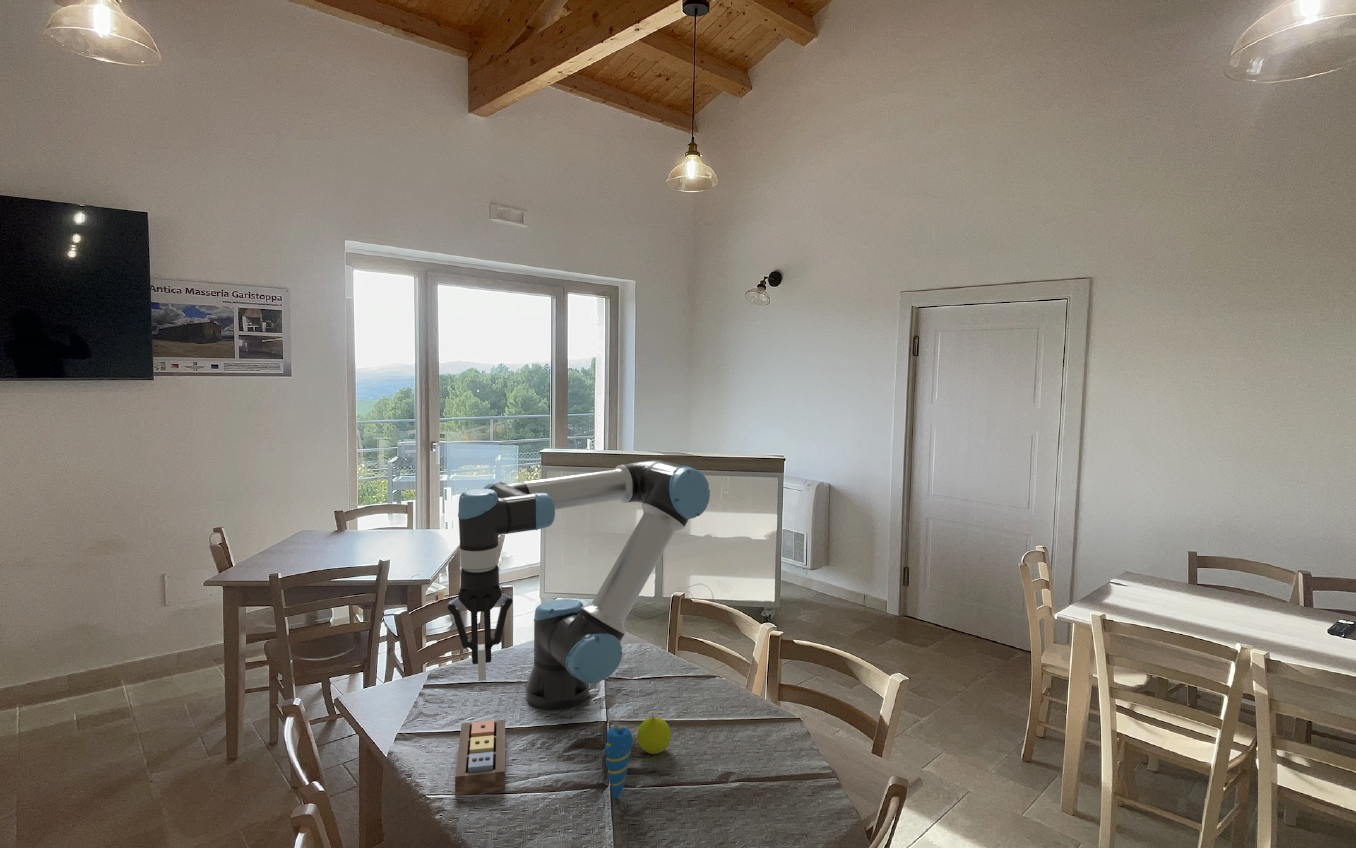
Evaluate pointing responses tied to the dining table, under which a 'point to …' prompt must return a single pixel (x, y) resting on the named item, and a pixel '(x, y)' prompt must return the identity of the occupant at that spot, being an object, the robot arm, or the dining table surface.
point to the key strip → (484, 779)
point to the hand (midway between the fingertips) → (482, 677)
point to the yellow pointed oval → (654, 735)
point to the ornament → (618, 757)
